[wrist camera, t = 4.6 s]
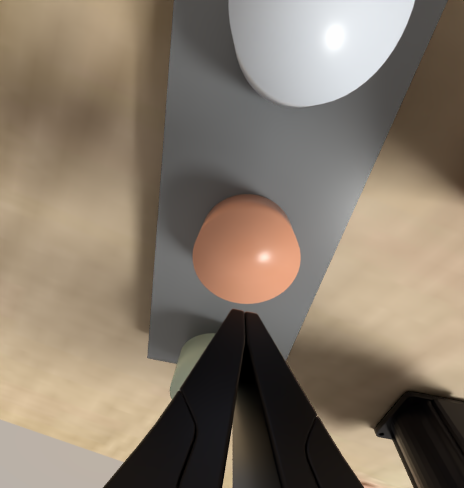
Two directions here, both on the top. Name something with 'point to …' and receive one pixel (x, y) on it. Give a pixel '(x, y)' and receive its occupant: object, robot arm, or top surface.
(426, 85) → the top surface
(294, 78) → the button bluegrey
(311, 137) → the panel
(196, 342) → the button sage
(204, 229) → the button terracotta
